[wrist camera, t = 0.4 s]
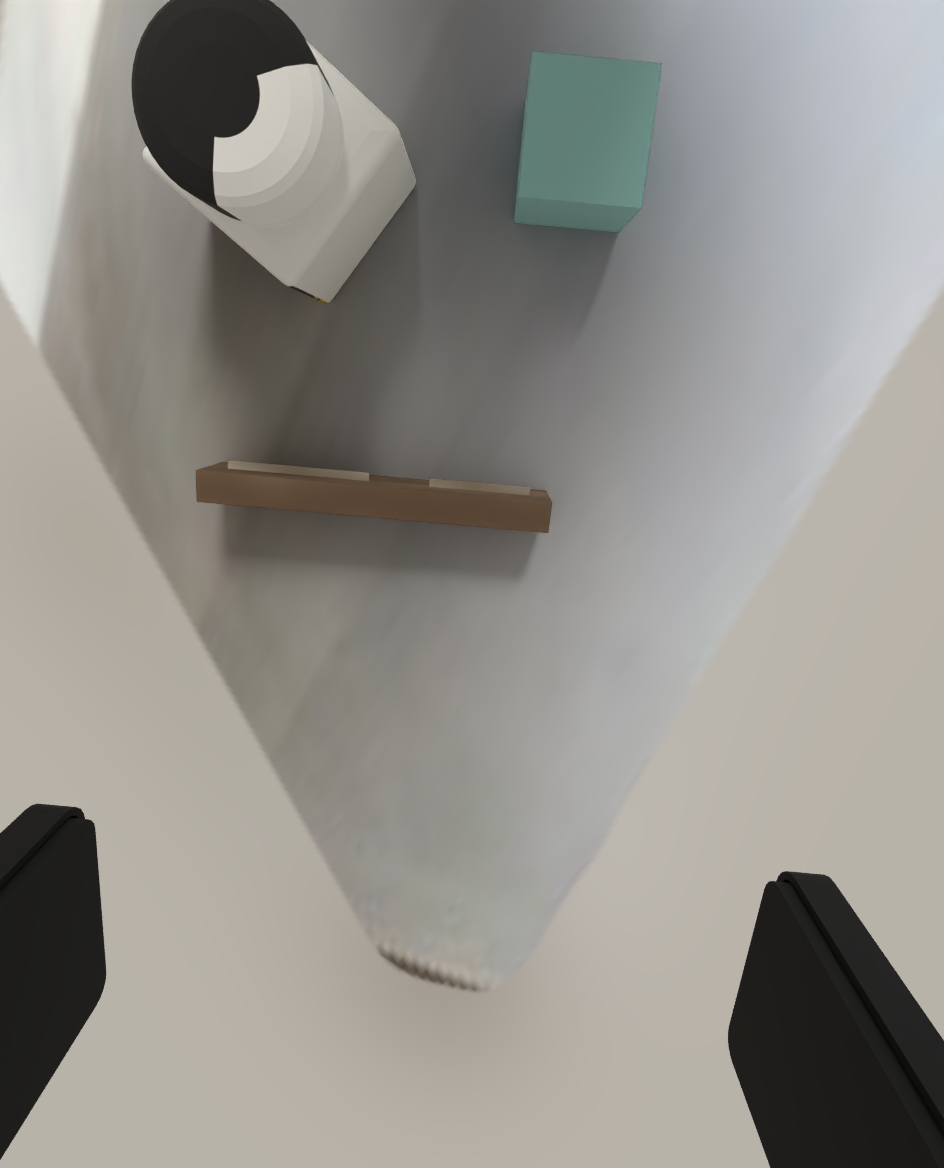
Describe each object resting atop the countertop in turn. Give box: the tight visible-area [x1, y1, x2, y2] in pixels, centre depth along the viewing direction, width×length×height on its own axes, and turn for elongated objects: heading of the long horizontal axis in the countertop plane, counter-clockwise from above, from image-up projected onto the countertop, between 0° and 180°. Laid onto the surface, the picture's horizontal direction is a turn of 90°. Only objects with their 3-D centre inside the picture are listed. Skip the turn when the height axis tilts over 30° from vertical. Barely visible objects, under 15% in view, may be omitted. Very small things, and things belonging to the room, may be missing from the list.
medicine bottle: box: [132, 0, 416, 303], centre depth 27 cm, size 7×7×12 cm
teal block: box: [514, 51, 662, 232], centre depth 30 cm, size 5×5×5 cm
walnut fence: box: [196, 460, 552, 533], centre depth 35 cm, size 2×17×4 cm, turn 85°
